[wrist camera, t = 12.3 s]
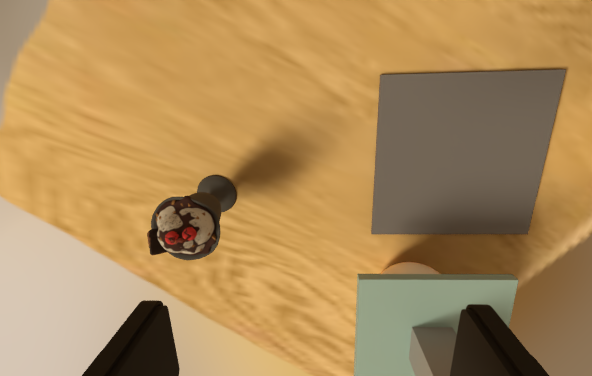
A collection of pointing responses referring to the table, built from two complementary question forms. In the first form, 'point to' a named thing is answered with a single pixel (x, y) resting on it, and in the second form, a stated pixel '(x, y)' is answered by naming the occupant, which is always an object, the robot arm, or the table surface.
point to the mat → (462, 150)
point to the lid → (419, 319)
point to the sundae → (191, 220)
